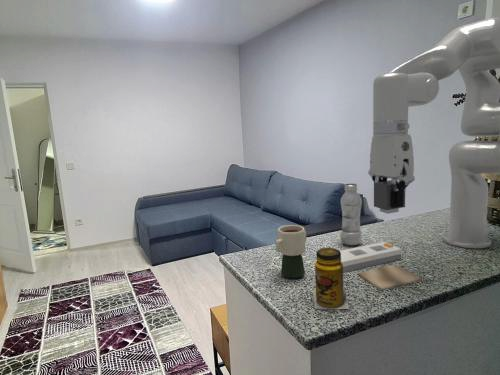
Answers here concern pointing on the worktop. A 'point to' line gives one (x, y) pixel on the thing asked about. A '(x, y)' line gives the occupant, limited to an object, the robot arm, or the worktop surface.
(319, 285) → the condiment
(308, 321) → the worktop surface
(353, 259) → the power strip
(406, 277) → the cork pad
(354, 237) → the plastic bottle
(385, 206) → the block
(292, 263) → the character mug
